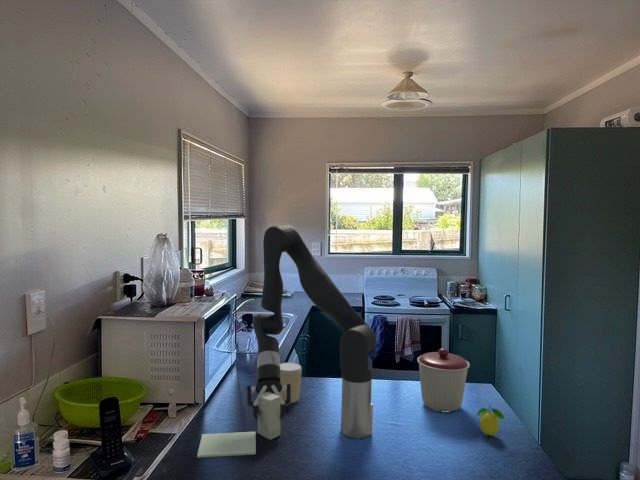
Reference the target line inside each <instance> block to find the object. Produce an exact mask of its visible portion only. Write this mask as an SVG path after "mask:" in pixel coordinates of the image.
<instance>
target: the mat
mask: <svg viewBox="0 0 640 480" xmlns="http://www.w3.org/2000/svg"><path fill="white" fill-rule="evenodd" d="M256 435H257V433H256V431H242V432H241V431H240V432H237V431H236V432H221V433H220V432H219V433H217V432H216V433H202V434H201V438H200V442H199V446H198V450H197V455H196V458H198V459H201V458H213V457H214V458H215V457H217V458H218V457H231V456H247V455H248V456H250V455H257V454H256V453H257V452H256V451H257V449H256V447H257V445H256V444H257V443H256V442H257V440H256V439H257V437H256Z"/></svg>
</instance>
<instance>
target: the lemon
mask: <svg viewBox="0 0 640 480" xmlns="http://www.w3.org/2000/svg"><path fill="white" fill-rule="evenodd" d="M476 416H480V419H479V429H480V431H482V433H484V434H485V435H486V436H488V435H490V436H493V435H496V434H497V432H498V431H499V425H500V424H499V419H500V420H506V418H505V416H504V414H503V413H502V411H501V410H499V409H498V408H492V407H491V404H489V409H487V408H484V407H482V408H480V409H479V410H478V411H477V413H476Z"/></svg>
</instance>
